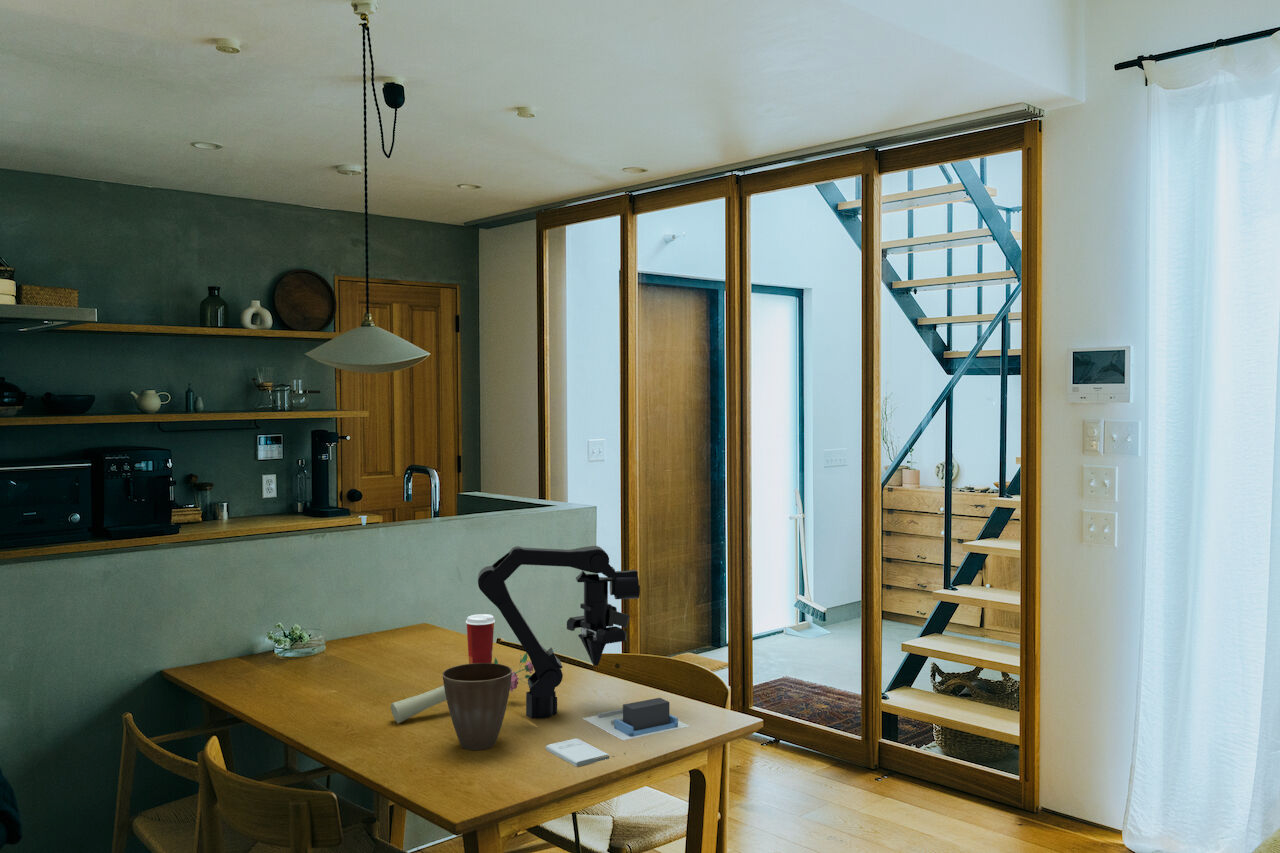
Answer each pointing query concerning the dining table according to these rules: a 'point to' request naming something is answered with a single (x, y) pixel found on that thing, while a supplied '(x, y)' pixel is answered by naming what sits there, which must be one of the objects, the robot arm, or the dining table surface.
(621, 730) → the board
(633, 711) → the dark gray block
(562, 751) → the external hard drive
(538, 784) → the dining table surface
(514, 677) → the flower vase
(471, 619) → the coffee cup
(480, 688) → the plant pot
